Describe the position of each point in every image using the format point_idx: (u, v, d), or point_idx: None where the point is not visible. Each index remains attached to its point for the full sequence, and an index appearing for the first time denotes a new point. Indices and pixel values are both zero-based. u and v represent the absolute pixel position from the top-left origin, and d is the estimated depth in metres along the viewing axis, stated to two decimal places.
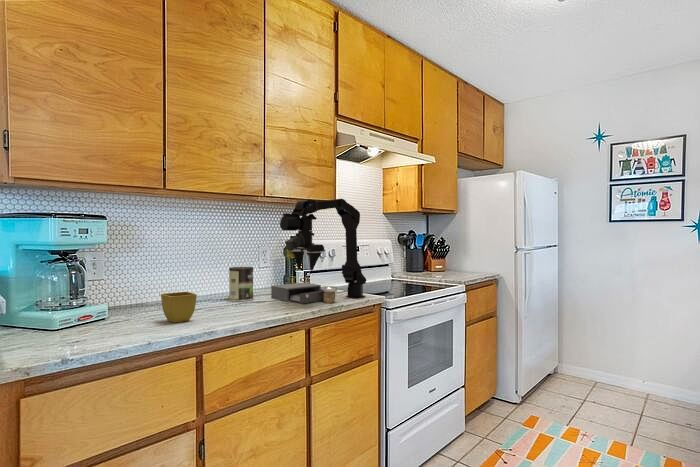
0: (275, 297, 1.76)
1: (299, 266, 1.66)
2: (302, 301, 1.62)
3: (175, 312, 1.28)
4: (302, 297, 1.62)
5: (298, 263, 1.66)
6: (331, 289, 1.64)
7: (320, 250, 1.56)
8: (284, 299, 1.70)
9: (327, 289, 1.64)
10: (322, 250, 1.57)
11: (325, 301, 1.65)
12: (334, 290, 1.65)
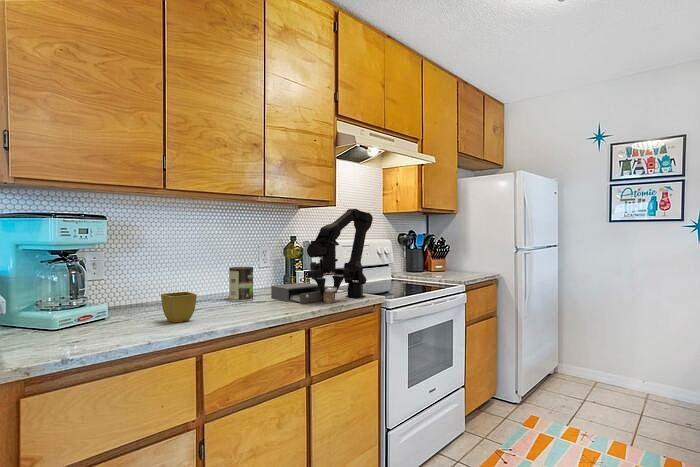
0: (275, 297, 1.76)
1: None
2: (302, 301, 1.62)
3: (175, 312, 1.28)
4: (302, 297, 1.62)
5: None
6: (331, 289, 1.64)
7: (312, 276, 1.60)
8: (284, 299, 1.70)
9: (327, 289, 1.64)
10: (313, 277, 1.59)
11: (325, 301, 1.65)
12: (334, 290, 1.65)
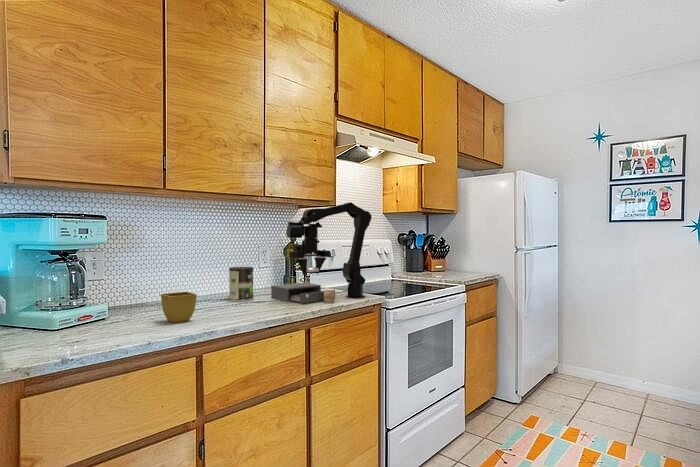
0: (275, 297, 1.76)
1: (316, 272, 1.74)
2: (302, 301, 1.62)
3: (175, 312, 1.28)
4: (302, 297, 1.62)
5: None
6: (313, 269, 1.69)
7: (294, 257, 1.65)
8: (284, 299, 1.70)
9: (309, 269, 1.68)
10: (295, 257, 1.64)
11: (325, 301, 1.65)
12: (316, 270, 1.69)
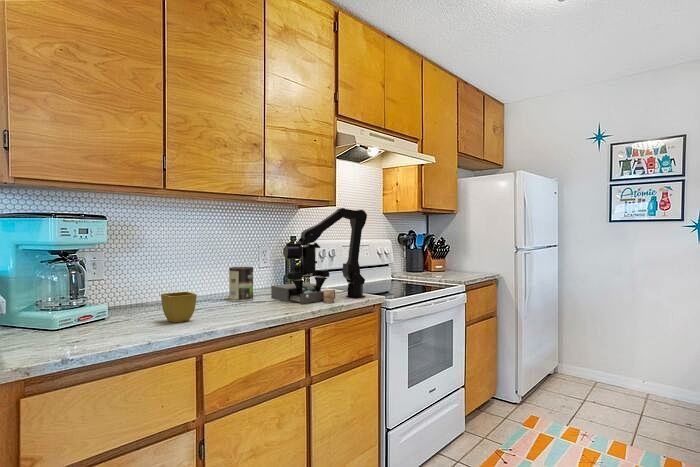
0: (275, 297, 1.76)
1: None
2: (302, 301, 1.62)
3: (175, 312, 1.28)
4: (302, 297, 1.62)
5: (316, 289, 1.76)
6: None
7: (291, 278, 1.66)
8: (284, 299, 1.70)
9: None
10: (293, 278, 1.65)
11: (325, 301, 1.65)
12: None
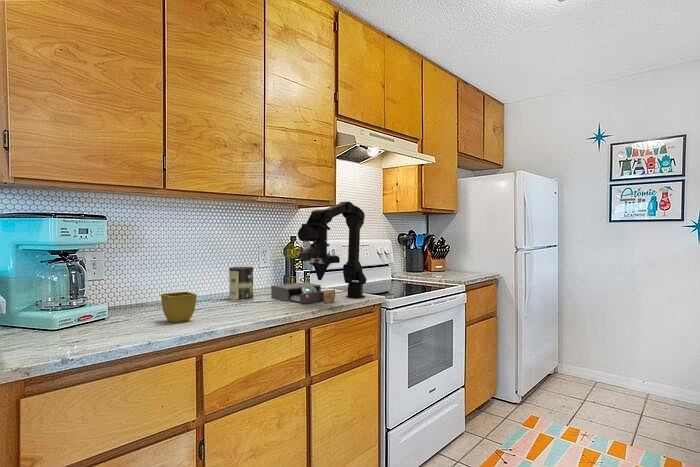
0: (275, 297, 1.76)
1: None
2: (302, 301, 1.62)
3: (175, 312, 1.28)
4: (302, 297, 1.62)
5: None
6: None
7: (336, 261, 1.54)
8: (284, 299, 1.70)
9: None
10: (338, 261, 1.54)
11: (325, 301, 1.65)
12: None
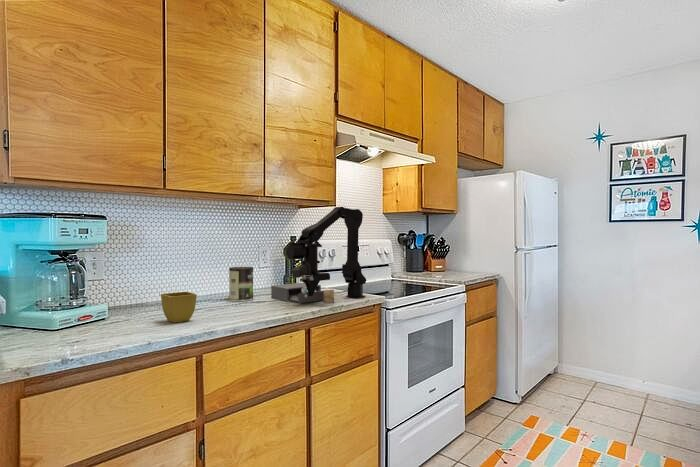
0: (275, 297, 1.76)
1: None
2: (301, 301, 1.63)
3: (175, 312, 1.28)
4: (301, 297, 1.63)
5: None
6: None
7: (326, 278, 1.59)
8: (284, 299, 1.70)
9: None
10: (328, 278, 1.59)
11: (325, 301, 1.65)
12: None
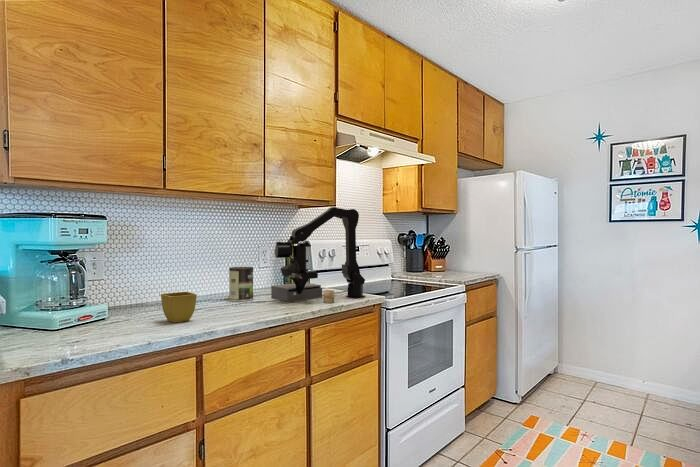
0: (275, 297, 1.76)
1: None
2: (290, 298, 1.69)
3: (175, 312, 1.28)
4: (290, 294, 1.69)
5: None
6: None
7: (314, 277, 1.64)
8: (284, 299, 1.70)
9: None
10: (316, 277, 1.65)
11: (325, 301, 1.65)
12: None
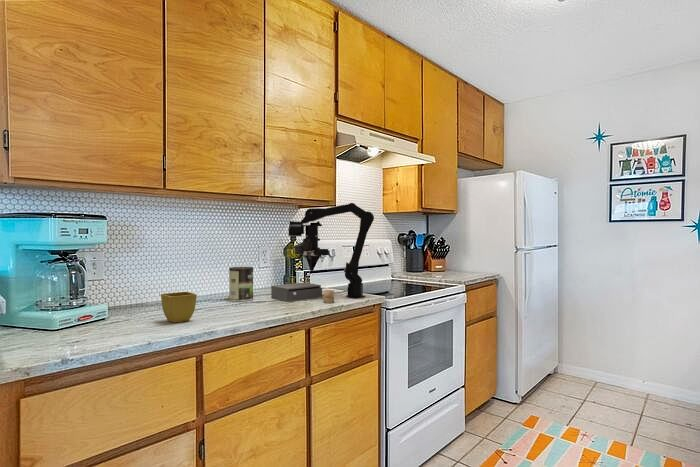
0: (275, 297, 1.76)
1: None
2: (290, 298, 1.69)
3: (175, 312, 1.28)
4: (290, 294, 1.69)
5: None
6: None
7: (326, 254, 1.75)
8: (284, 299, 1.70)
9: None
10: (327, 254, 1.75)
11: (325, 301, 1.65)
12: None
